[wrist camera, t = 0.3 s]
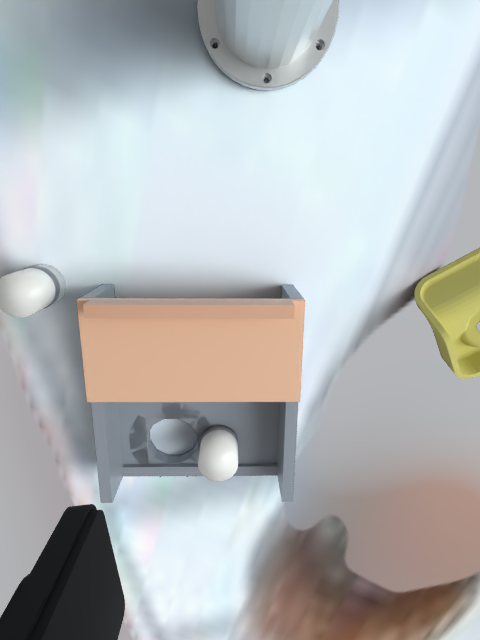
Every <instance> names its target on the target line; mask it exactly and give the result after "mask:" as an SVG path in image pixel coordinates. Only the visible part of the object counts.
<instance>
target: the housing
mask: <svg viewBox="0 0 480 640" xmlns="http://www.w3.org/2000/svg"><path fill="white" fill-rule="evenodd" d="M81 298H115V293H114V284H102V285H100V286H99V287H97V288H95V289H94V290H92V291H90V292H89V293H87V294H85V295H84V296H82V297H81ZM281 299H303V297H302V296H301V295H300V293H299V292H298V291H297V289H296V288H295V287H294V286H293V285H282V296H281ZM91 408H92V418H93V428H94V439H95V449H96V459H97V469H98V479H99V489H100V499H101V503H112V502H113V500H114V497H115V495H116V492H117V490H118V487H119V485H120V482H121V480H122V477H123V476H160V477H161V476H187V477H188V476H204V477H206V478H207V479H209V480H212V481H224V480H227V479H229V478H231V477H232V476H261V475H278V481H279V487H280V493H281V499H282V502H284V501H293V494H294V475H295V474H294V473H295V454H296V434H297V414H298V402H91ZM163 419H180V420H182V421H184V422H186V423H188V424H190V425H191V426H192V428H193V429H194V431H195V432H196V434H197V436H198V442H197V443H196V445H195V446H194V448H193V449H192V450H191V451H189V452H187V453H185V454H183V455H167V454H165V453H163V452H161V451H159V450H157V449H156V447H155V446H154V444H153V443H152V442H151V440H150V429H151V427H152V426H153V425H154V424H155V423H157V422H159V421H161V420H163Z"/></svg>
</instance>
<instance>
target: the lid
mask: <svg viewBox="0 0 480 640" xmlns="http://www.w3.org/2000/svg"><path fill="white" fill-rule="evenodd" d="M77 309H78V319H79V329H80V339H81V349H82V359H83V368H84V378H85V388H86V398H87V402H300V391H301V372H302V352H303V333H304V313H305V300H304V299H255V298H79V299H77Z"/></svg>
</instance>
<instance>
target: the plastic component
mask: <svg viewBox="0 0 480 640" xmlns="http://www.w3.org/2000/svg"><path fill="white" fill-rule="evenodd" d="M414 295H415V300H416V303H417V306H418V307H419V309H420V310H421V311H422V312H423V314H424V315H425V317H426V318H427V320H428V321H429V323H430V325H431V327H432V329H433V332H434V335H435V338H436V341H437V344H438V348H439V351H440V354H441V356H442V358H443V359H444V361H445V362H446V363H447V364H448V366H449V367H450V368H451V370H452V371H453V372H454V373H455V375H456V376H457V377H459V378H464V379H466V378H473V377H476V376H478V375H480V331H478V330H477V328H476V325H477V323H478V322H480V248H478V249H476V250H474V251H473V252H471V253H469V254H467V255H465V256H463V257H461V258H459V259H457V260H456V261H454V262H452V263H450V264H448V265H446V266H444V267H442V268H441V269H439V270H437V271H435V272H433V273H431V274H429V275H427V276H426V277H424V278H423V279H422V280H421V281H420V282H419V283H418V284H417V286H416V288H415V292H414Z"/></svg>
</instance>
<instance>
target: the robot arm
mask: <svg viewBox="0 0 480 640" xmlns="http://www.w3.org/2000/svg"><path fill="white" fill-rule="evenodd" d="M197 10H198V20H199V27H200V32H201V36H202V38H203V41H204V44H205V47H206V49H207V51H208V53H209V54H210V56H211V58H212V60H213V61H214V62H215V64H216V65H217V66H218V67H219V68H220V70H221V71H222V72H223V73H225V74H226V75H227V76H228V77H229V78H231V79H232V80H233V81H235V82H237V83H239V84H241V85H243V86H245V87H249V88H252V89H256V90H268V91H270V90H276V89H282V88H285V87H288V86H290V85H293V84H295V83H297V82H298V81H300V80H301V79H303V78H305V77H306V76H307V75H308V74H309V73H310V72H311V71H312V70H313V69H315V67H316V66H317V65H318V63H319V62H320V61H321V59H322V58H323V57H324V55H325V54H326V52H327V50H328V48H329V46H330V44H331V41H332V39H333V36H334V34H335V30H336V26H337V21H338V14H339V0H198V4H197ZM214 44H217V45H218V48H217V49H214V48H213V45H214ZM316 46H320V47H321V50H317V49H316ZM265 78H267V79H268V80H269V82H268V83H265V82H264V79H265ZM124 610H125V600H124V595H123V590H122V586H121V582H120V578H119V574H118V570H117V566H116V561H115V557H114V553H113V549H112V545H111V541H110V536H109V532H108V528H107V524H106V520H105V516H104V513H103V511H102V510H97V509H96V507H95V506H94V505H93V504H90V505H81V506H72V507H68V508H67V509H66V510H65V512H64V513H63V515H62V517H61V519H60V521H59V523H58V524H57V526H56V528H55V530H54V531H53V533H52V535H51V537H50V539H49V540H48V542H47V544H46V546H45V548H44V550H43V552H42V553H41V555H40V557H39V559H38V560H37V562H36V564H35V566H34V568H33V570H32V571H31V573H30V574H29V575H27V576H26V577H25V578H24V579H23V580H22V581H21V583H20V584H19V586H18V588H17V590H16V591H15V593H14V595H13V596H12V598H11V600H10V602H9V604H8V605H7V607H6V609H5V611H4V612H3V614H2V616H1V618H0V640H117V639H118V635H119V632H120V628H121V624H122V621H123V616H124Z"/></svg>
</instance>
